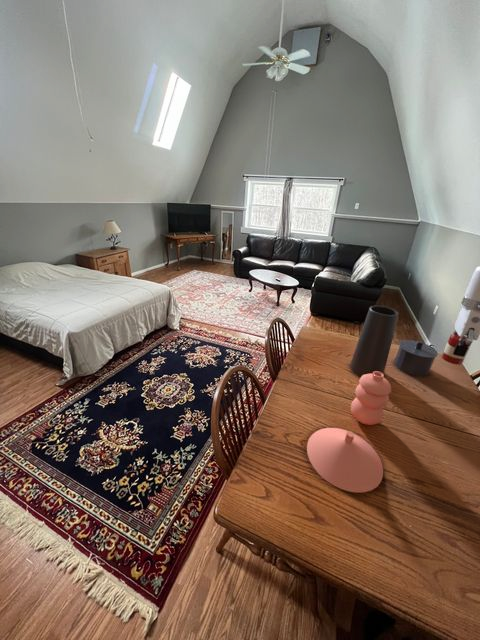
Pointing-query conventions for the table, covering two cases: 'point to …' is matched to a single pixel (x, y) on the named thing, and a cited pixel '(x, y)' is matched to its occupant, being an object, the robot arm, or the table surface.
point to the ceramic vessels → (352, 441)
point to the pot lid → (418, 349)
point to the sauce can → (450, 349)
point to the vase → (374, 341)
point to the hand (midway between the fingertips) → (456, 350)
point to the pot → (413, 363)
